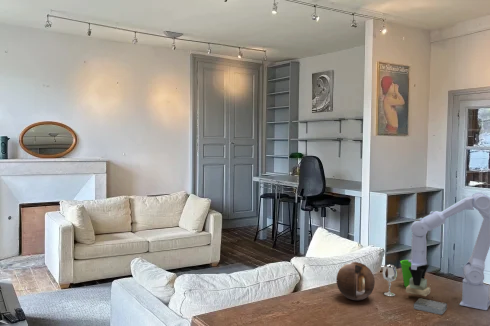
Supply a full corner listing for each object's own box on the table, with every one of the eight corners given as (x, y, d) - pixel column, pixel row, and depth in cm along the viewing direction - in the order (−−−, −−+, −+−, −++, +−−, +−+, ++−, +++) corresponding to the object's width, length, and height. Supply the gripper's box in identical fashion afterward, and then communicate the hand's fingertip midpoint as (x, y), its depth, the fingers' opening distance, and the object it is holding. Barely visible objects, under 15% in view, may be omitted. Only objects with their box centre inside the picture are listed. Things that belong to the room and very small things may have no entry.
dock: (446, 308, 164) (447, 303, 164) (441, 314, 158) (442, 309, 157) (419, 303, 170) (419, 298, 170) (413, 308, 164) (413, 303, 164)
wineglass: (387, 297, 177) (388, 268, 176) (379, 292, 182) (380, 264, 182) (399, 296, 178) (400, 267, 178) (391, 291, 184) (391, 264, 183)
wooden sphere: (338, 291, 183) (339, 256, 183) (375, 295, 178) (375, 260, 178) (333, 302, 169) (334, 265, 169) (373, 307, 164) (374, 269, 164)
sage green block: (430, 292, 175) (430, 279, 175) (426, 296, 170) (426, 282, 170) (410, 288, 180) (410, 275, 180) (405, 292, 175) (406, 279, 175)
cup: (424, 290, 186) (424, 265, 185) (402, 290, 186) (403, 265, 186) (417, 283, 195) (418, 260, 194) (397, 283, 195) (397, 259, 195)
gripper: (413, 246, 183) (413, 277, 183) (403, 252, 171) (403, 286, 172) (431, 248, 179) (431, 280, 179) (421, 254, 167) (421, 289, 167)
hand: (418, 283), depth 175 cm, fingers closed on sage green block, 4 cm apart
